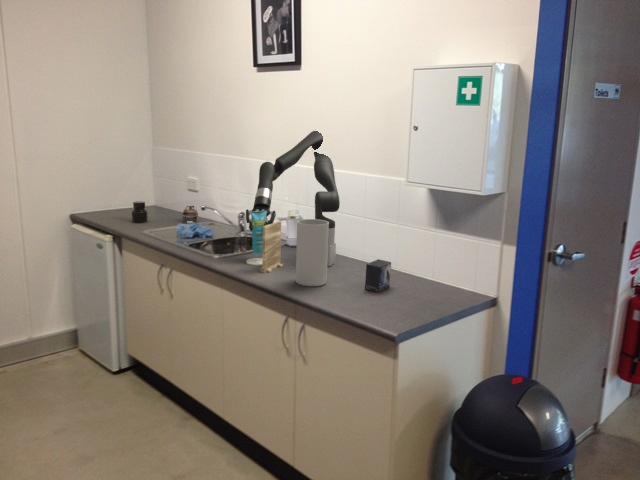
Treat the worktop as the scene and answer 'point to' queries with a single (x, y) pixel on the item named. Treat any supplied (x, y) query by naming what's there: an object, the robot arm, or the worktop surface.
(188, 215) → the rusty gas canister
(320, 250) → the cylinder vase
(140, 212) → the ink bottle
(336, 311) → the worktop surface
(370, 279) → the small box
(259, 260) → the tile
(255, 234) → the tube
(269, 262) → the screen
